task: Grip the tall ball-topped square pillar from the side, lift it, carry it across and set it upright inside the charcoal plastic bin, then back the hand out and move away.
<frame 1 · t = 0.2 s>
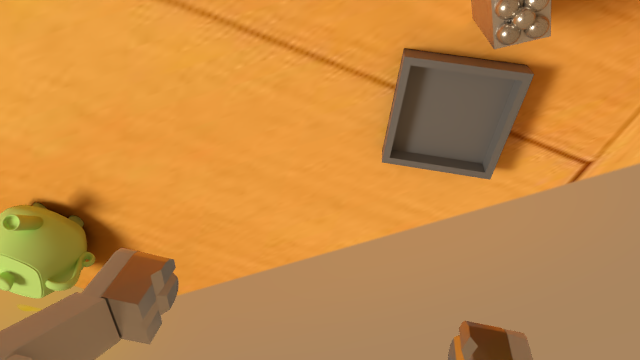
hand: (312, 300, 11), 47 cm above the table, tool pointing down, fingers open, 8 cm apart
charcoal bin: (447, 111, 57), on the table
teapot: (51, 215, 83), on the table
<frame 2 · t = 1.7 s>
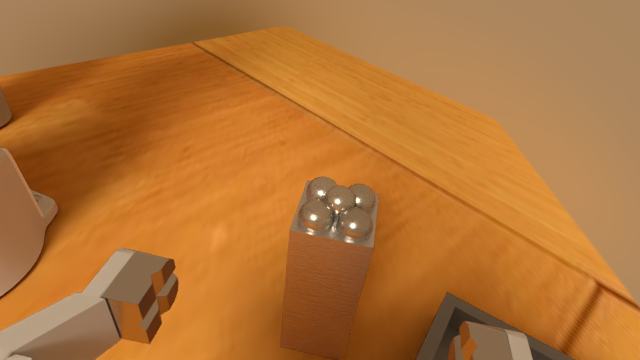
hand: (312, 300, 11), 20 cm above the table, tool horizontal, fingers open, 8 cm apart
ball-topped square pillar: (316, 325, 33), on the table
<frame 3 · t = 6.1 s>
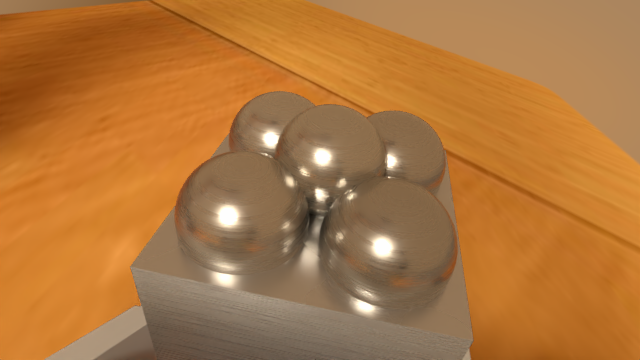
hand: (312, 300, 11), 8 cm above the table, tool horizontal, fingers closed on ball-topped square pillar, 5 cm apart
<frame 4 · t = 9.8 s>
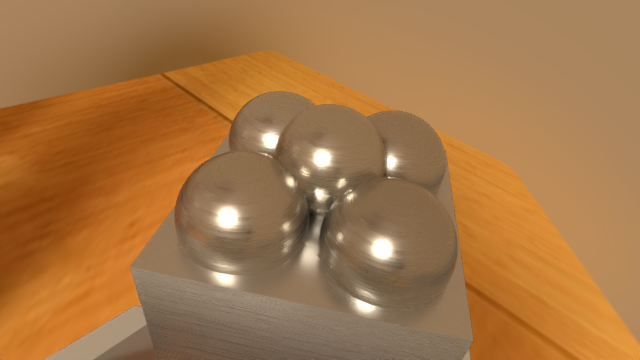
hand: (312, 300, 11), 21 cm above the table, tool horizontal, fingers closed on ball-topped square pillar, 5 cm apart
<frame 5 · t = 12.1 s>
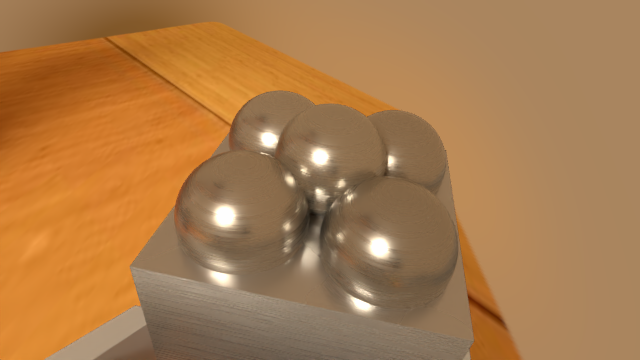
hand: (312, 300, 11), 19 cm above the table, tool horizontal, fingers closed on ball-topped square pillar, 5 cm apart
when the fingers open (10 cm above the table, at t = 13.9 s): ball-topped square pillar stays where it is, resting on charcoal bin.
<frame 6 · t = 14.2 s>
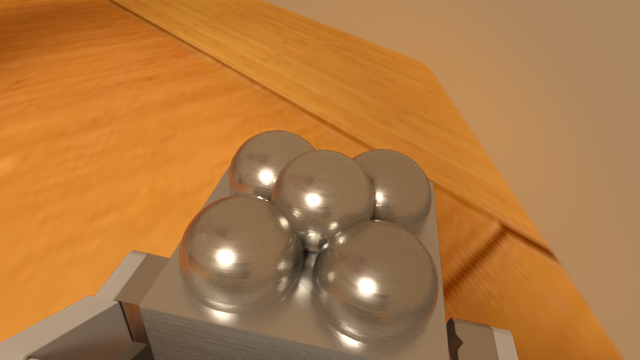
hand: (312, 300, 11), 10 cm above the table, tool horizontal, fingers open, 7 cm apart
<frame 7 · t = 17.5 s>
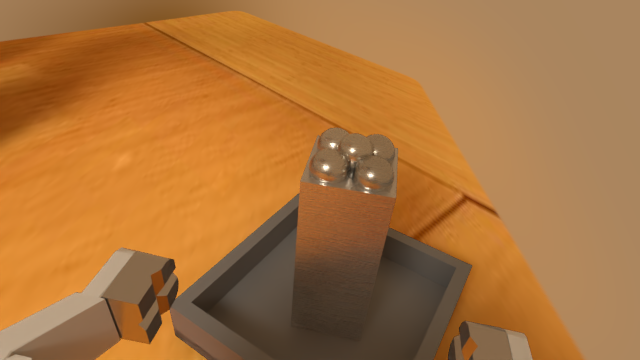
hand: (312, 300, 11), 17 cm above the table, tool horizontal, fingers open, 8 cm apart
ball-topped square pillar: (330, 305, 30), point 1 cm above the table, touching charcoal bin
charcoal bin: (329, 312, 31), on the table
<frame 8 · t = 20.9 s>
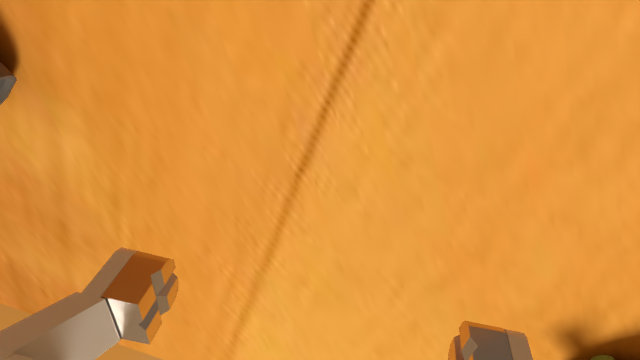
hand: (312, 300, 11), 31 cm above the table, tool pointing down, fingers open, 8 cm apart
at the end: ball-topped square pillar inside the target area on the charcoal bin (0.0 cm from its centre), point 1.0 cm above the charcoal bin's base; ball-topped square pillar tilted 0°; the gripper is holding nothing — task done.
